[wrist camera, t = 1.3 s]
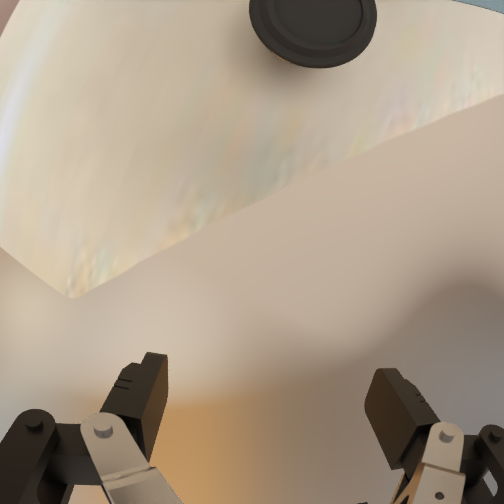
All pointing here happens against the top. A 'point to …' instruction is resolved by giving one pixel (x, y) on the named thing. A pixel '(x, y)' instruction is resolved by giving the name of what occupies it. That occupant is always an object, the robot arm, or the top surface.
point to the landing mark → (487, 4)
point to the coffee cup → (314, 29)
